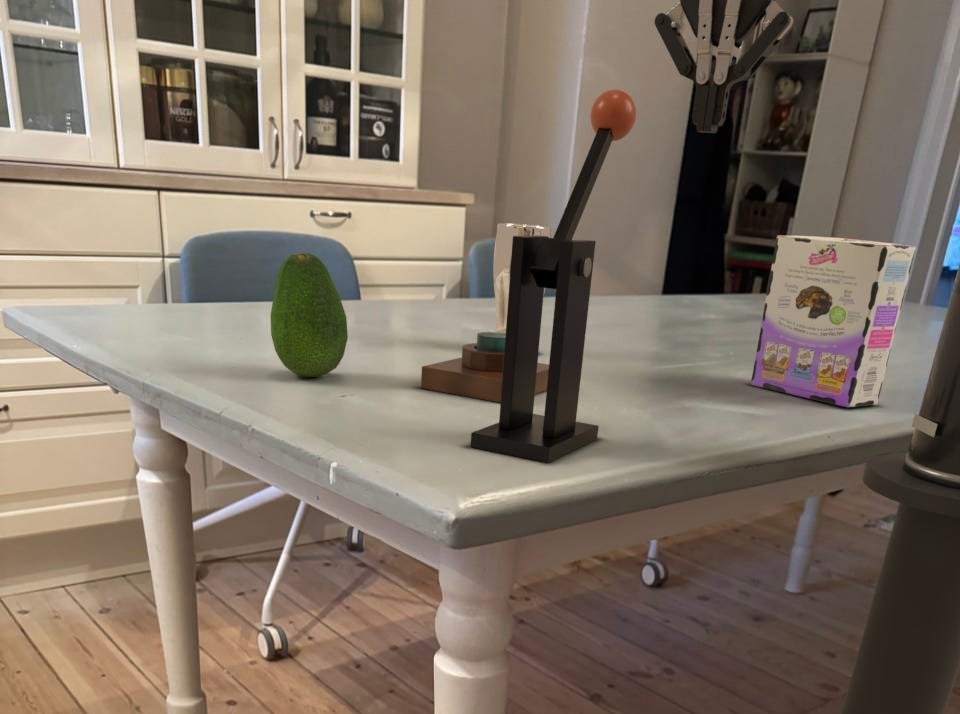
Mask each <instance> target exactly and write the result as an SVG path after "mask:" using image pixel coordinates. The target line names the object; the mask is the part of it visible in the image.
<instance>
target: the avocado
mask: <svg viewBox="0 0 960 714" xmlns="http://www.w3.org/2000/svg"><path fill="white" fill-rule="evenodd" d="M325 265H326V264H324V262H323V261H322V260H321V259H320V258H319V257H318V256H316V255H314V254H311V253H309V252H304V253H297V254H290V255H289V256H288V257H286V259H285V260H283V261H282V263H281V264H280V267H279V271H278V273H277V277H276V282H275V286H274V287H275V288H274V294H273V297H272V305H271V310H270V336H271V340H272V344H273V347H274V351H275V353H276V355H277V356H278V359H279V360H280V362H281V364H282V365H283V367H285V368H286V369H288V370H289V371H290V372H292V373H293V374H295V375H296V376H298V377H303V378H308V379H309V378H316V377H322V376H325V375H328V374H329V373H331V372H332V371H334V370H336V369H337V368H338V366H339V365H340V363H341V361H342V360H343V358H344V356H345V351H346V347H347V342H348V338H349V335H348V321H347V320H348V319H347V315H346V312H345V311H346V310H345V309H344V306H343V303H342V299H341V296H340V294H339V292H338V290H337V287H336V285H335V283H334V281H333V278H332V277H331V274H330V273H329V272H330V271H328V268H327V266H325Z"/></svg>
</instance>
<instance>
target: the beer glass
mask: <svg viewBox="0 0 960 714" xmlns="http://www.w3.org/2000/svg"><path fill="white" fill-rule="evenodd" d="M551 233H552V227H551V226H548V225H537V224H529V223H527V224H524V223H512V222H511V223H510V222H509V223H508V222H498V223H497V229H496V237H495V244H494V250H493V251H494V252H493V269H492V272H493V275H492V276H493V291H494V300H495V301H494V302H495V313H496V314H495V315H496V316H495V319H496V321H495V329H494V332H497V333H505V334H506V323H507V310H508V296H509V283H510V269H511V255H512V242H513V236H537V235H539V236H548V237H549V238H552V237H551ZM545 292H546V288H544V293H545ZM544 296H545V294H544V295H543V297H544Z"/></svg>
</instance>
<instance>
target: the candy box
mask: <svg viewBox="0 0 960 714" xmlns="http://www.w3.org/2000/svg"><path fill="white" fill-rule="evenodd" d="M775 238H776V239H775V246H774V250H773V251H774V252H773V258H772V262H771V267H770V274H769V280H768V285H767V291H766V296H765V300H764V307H763V313H762V319H761V323H760V324H761V325H760V330H759V334H758V335H759V337H758V342H757V347H756V353H755V359H754V364H753V369H752V374H751V378H750V385H751V386H755V387H759V388H762V389H767V390H772V391H776V392H780V393H784V394H788V395H793V396H796V397H800V398H805V399H810V400H814V401H817V402H822V403H827V404H831V405H834V406H839V407H845V408H857V407H863V406H864V407H866V406H867V407H868V406H877V405H878V402H879V399H880V394H881V391H882V386H883V383H884V378H885V375H886V370H887V366H888V362H889V358H890V356H891V355H890V354H891V350H892V346H893V342H894V338H895V334H896V329H897V326H898V323H899V318H900V315H901V311H902V304H903V301H904V297H905V293H906V290H907V285H908V282H909V277H910V272H911V270H912V269H911V268H912V263H913V260H914V258H915V257H914V256H915V252H916V248H917V246H915V245H908V244H900V243H894V242H893V243H892V242H884V241H875V240H865V239H854V238H846V237H845V238H844V237H833V236H832V237H831V236H815V235H814V236H813V235H779V234H778V235H777V236H776V237H775Z"/></svg>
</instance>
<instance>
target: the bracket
mask: <svg viewBox="0 0 960 714" xmlns="http://www.w3.org/2000/svg"><path fill="white" fill-rule="evenodd" d="M542 237H545V238H549V237H548V236H539V235H537V236H513V242H512V255H511V269H510V283H509V296H508V310H507V323H506V337H505V351H504V364H503V378H502V392H501V403H500V406H499V407H500V409H499V419H498V422H497V423H494V424H491V425H487V426H486V427H482V428H480V429H477V430H474V431H472V432H471V434H470V447H471V448H474V449H479V450H484V451H488V452H492V453H499V454H504V455H508V456H511V457H518V458H523V459H527V460H531V461H537V462H541V463H542V462H543V463H546V464H547V463H548V464H549V463H551V462H553V461H556V460H557V459H559V458H562V457H564V456H566V455H568V454H569V453H572V452H574V451H576V450H578V449H580V448H582V447H584V446H586V445H588V444H590V443H592V442H595V441H596V440H598V436H599V426H600V425H599V424H598V425H597V424H591V423H586V422H581V421H577V416H578V415H577V413H578V406H579V397H580V387H581V377H582V369H583V360H584V351H585V342H586V334H587V333H586V331H587V322H588V314H589V306H590V296H591V287H592V278H593V268H594V259H595V251H596V244H597V243H596V240H591V239H572V240H565V241H561V245H560V255H559V266H558V277H557V287H556V289H555V299H554V310H553V319H552V332H551V339H550V340H551V341H550V352H549V361H548V362H549V363H548V364H549V372H548V382H547V390H546V394H545V404H544V406H545V407H544V414H538V413H537V414H536V413H534V408H535V395H536V394H535V385H536V374H537V363H539V362H538V360H539V350H540V340H541V339H540V337H541V327H542V316H543V305H544V296H545V292H544V288H541V287H538V286H537V284H536V282H535V279H534V277H533V275H532V272H531V270H530V265H531V262H532V260H533V258H534V255H535V253H536V250H537V248H538V246H539V243H540V241H541V238H542ZM543 295H544V296H543Z"/></svg>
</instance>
